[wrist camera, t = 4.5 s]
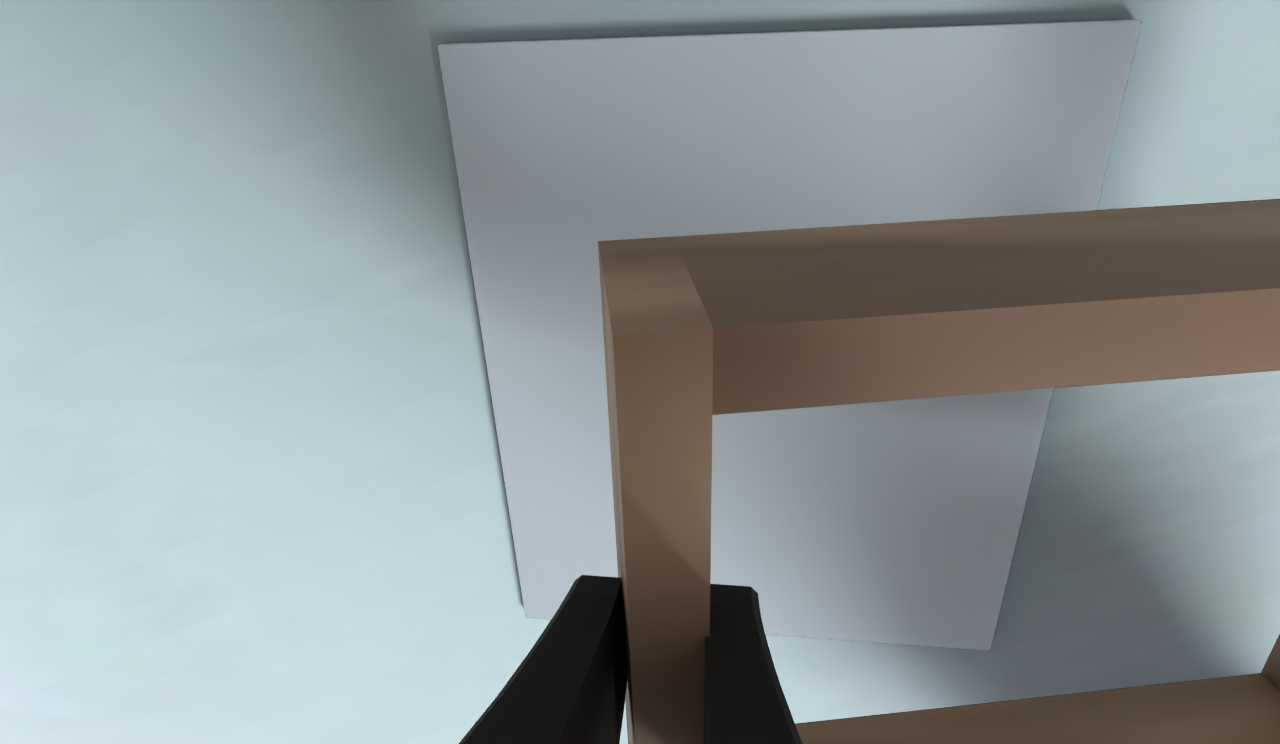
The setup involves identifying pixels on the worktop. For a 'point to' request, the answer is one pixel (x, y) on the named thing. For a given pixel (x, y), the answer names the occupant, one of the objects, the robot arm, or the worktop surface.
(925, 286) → the wooden frame
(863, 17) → the worktop surface
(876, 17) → the worktop surface
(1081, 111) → the mat
